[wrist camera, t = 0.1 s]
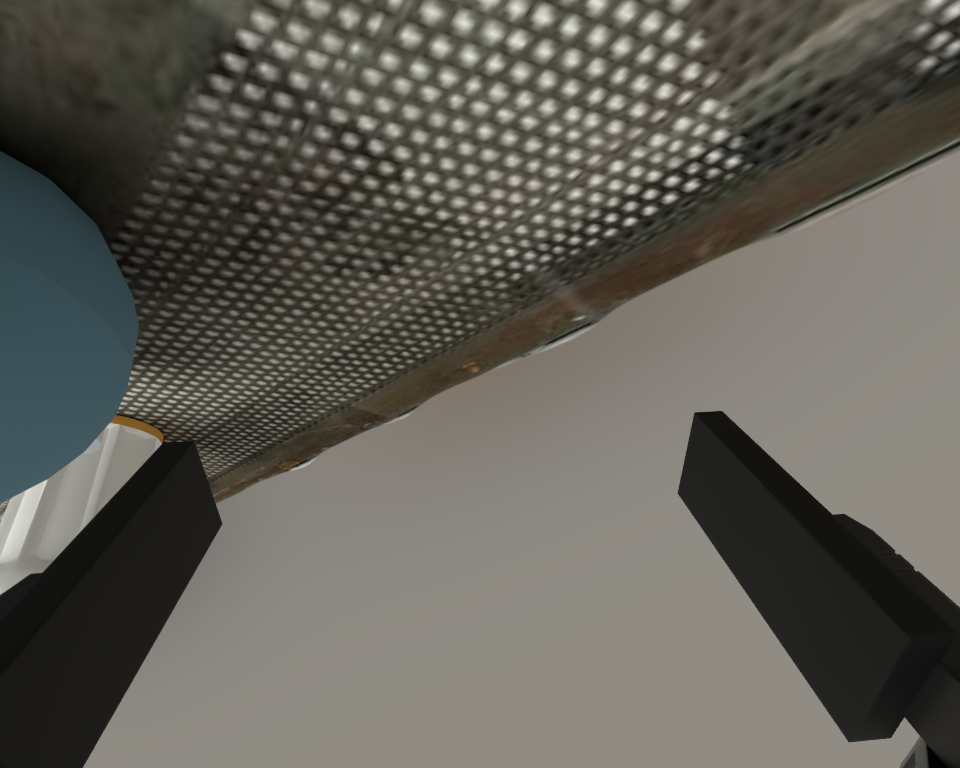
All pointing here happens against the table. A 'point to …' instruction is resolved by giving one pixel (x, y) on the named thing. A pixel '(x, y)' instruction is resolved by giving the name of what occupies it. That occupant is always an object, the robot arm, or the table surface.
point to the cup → (70, 499)
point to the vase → (56, 330)
